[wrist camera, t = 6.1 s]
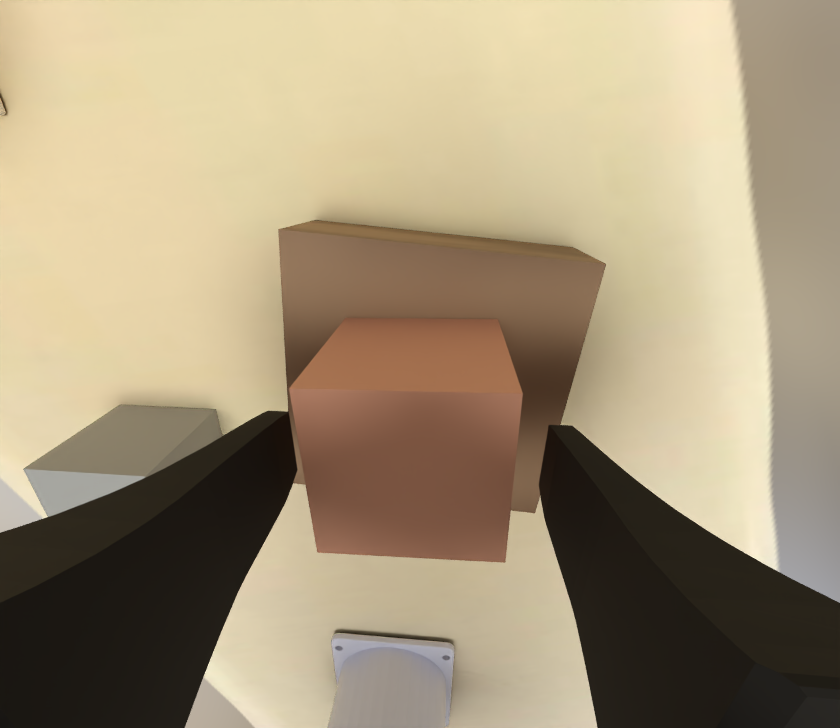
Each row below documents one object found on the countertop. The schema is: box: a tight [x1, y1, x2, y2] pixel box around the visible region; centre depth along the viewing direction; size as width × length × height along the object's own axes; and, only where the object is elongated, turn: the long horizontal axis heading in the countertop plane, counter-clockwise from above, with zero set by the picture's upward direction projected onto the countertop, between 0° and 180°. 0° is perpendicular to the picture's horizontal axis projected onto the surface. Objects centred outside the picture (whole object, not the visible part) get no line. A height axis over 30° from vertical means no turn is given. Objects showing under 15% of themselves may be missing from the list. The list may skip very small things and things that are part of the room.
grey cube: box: [23, 405, 222, 517], centre depth 18 cm, size 5×5×5 cm
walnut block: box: [278, 220, 606, 513], centre depth 16 cm, size 10×10×4 cm
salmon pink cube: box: [289, 318, 523, 562], centre depth 12 cm, size 5×5×5 cm
